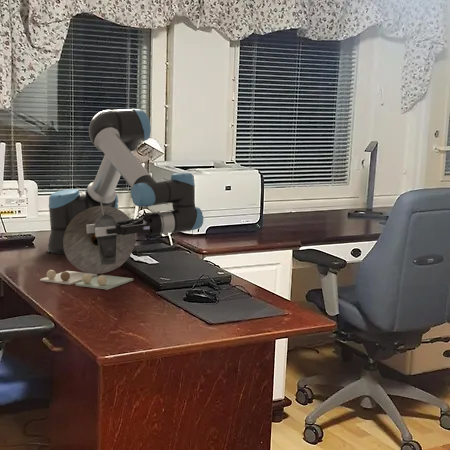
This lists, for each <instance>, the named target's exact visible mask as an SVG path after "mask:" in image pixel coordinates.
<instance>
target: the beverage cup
mask: <svg viewBox="0 0 450 450" xmlns="http://www.w3.org/2000/svg"><path fill="white" fill-rule="evenodd" d="M100 203H101V209H102V215H101V216H100V217H99V218H98V219H97V220H96V222H95V228H99V227H108V226H116V224H117V223H116V220H115V219H114V218H113V217H112V216H110V215H104V211H103V206H102V201H100ZM116 228H117V226H116ZM97 241H98V247H99V254H100V260H101V264H103V265H109V264H114V263H115V260H116V235H108V236H100V237H97Z"/></svg>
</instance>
